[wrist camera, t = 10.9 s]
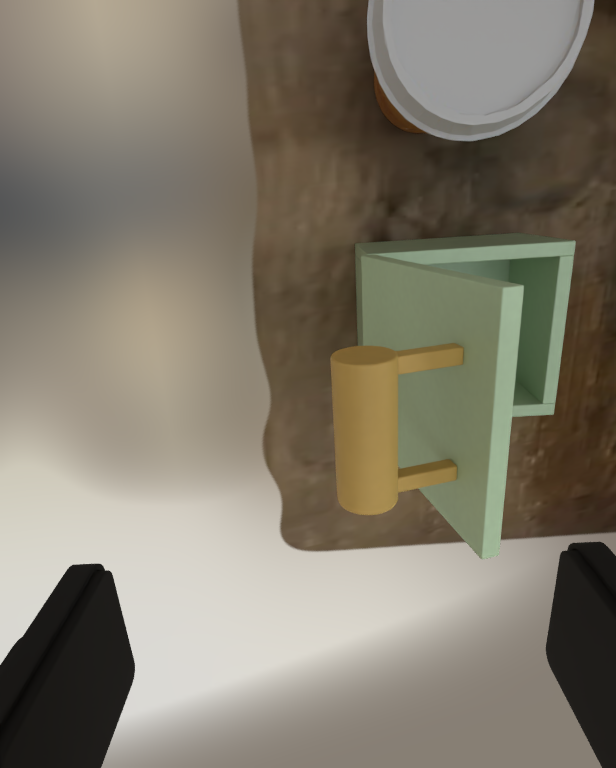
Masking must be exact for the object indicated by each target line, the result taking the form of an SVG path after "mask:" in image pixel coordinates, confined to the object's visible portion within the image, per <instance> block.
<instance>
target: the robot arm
mask: <svg viewBox="0 0 616 768" xmlns="http://www.w3.org/2000/svg"><path fill="white" fill-rule="evenodd" d="M546 654H547V659H548V662H549V665H550V667H551V670H552V672H553V673H554V675H555V677H556V679H557V681H558V683H559V685H560V687H561V689H562V691H563V693H564V695H565V697H566V698H567V700H568V702H569V704H570V706H571V708H572V710H573V712H574V714H575V716H576V718H577V720H578V722H579V724H580V726H581V728H582V729H583V731H584V733H585V735H586V737H587V739H588V741H589V743H590V745H591V747H592V749H593V751H594V753H595V755H596V757H597V759H598V760H599V762H600V764H601V766H602V768H616V556H615V555H614V554H613V552H612V551H611V550H610V549H609V548H608V547H607V546H606V545H605V544H604V543H602V542H585V543H572V544H570V545H569V547H568V550H567V551H562V553H561V555H560V559H559V566H558V572H557V579H556V586H555V592H554V599H553V604H552V612H551V618H550V624H549V631H548V637H547V643H546ZM134 673H135V663H134V658H133V655H132V651H131V647H130V643H129V639H128V635H127V631H126V627H125V623H124V619H123V615H122V611H121V607H120V603H119V599H118V595H117V591H116V587H115V583H114V579H113V575H112V573H111V572H110V571H105V569H104V567H103V566H102V565H101V564H80V565H72V566H70V567H69V569H68V570H67V571H66V572H65V574H64V575H63V577H62V578H61V580H60V581H59V583H58V585H57V586H56V587H55V589H54V590H53V592H52V594H51V595H50V597H49V598H48V600H47V601H46V603H45V604H44V605H43V607H42V609H41V610H40V612H39V613H38V615H37V616H36V618H35V619H34V621H33V622H32V624H31V625H30V626H29V628H28V629H27V631H26V633H25V634H24V635H23V637H22V638H20V639H19V640H18V641H17V642H16V644H15V645H14V646H13V647H12V649H11V650H10V652H9V653H8V655H7V656H6V658H5V659H4V661H3V662H2V664H1V665H0V768H101V766H102V764H103V761H104V758H105V755H106V753H107V750H108V747H109V745H110V742H111V739H112V737H113V734H114V731H115V729H116V726H117V723H118V720H119V718H120V715H121V712H122V710H123V707H124V704H125V701H126V699H127V696H128V694H129V691H130V688H131V686H132V682H133V679H134Z"/></svg>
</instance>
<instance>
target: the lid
mask: <svg viewBox="0 0 616 768" xmlns="http://www.w3.org/2000/svg"><path fill="white" fill-rule="evenodd" d="M361 269H362V311H363V346H353V347H348V348H344V349H340V350H338V351H336V352H334V353H333V354H332V355H331V358H330V359H331V380H332V400H333V420H334V440H335V461H336V481H337V498H338V501H339V503H340V505H341V506H342V507H343V508H344V509H346V510H348V511H350V512H352V513H355V514H360V515H376V514H381V513H384V512H387V511H389V510H390V509H392V508H393V507H394V506H395V504H396V502H397V500H398V492H403V491H408V490H413V489H417V488H418V489H419V490H420V491H421V492H422V493H423V494H424V496H425V497H426V498H427V499H428V500H429V501H430V502H431V503H432V504H433V506H434V507H435V508H436V509H437V510H438V511H439V512H440V513H441V515H442V516H443V517H444V518H445V519H446V520H447V521H448V522H449V524H450V525H451V526H452V527H453V528H454V529H455V530H456V531H457V533H458V534H459V535H460V536H461V537H462V538H463V539H464V540H465V542H466V543H467V544H468V545H469V546H470V547H471V548H472V549H473V550H474V551H475V553H476V554H477V555H478V556H479V557H480V558H481V559H486V558H490V557H494V556H498V555H499V549H500V539H501V528H502V517H503V506H504V496H505V485H506V474H507V464H508V453H509V442H510V431H511V421H512V410H513V399H514V389H515V378H516V367H517V356H518V346H519V335H520V324H521V313H522V303H523V292H524V286H523V285H520V284H515V283H510V282H505V281H501V280H496V279H491V278H486V277H481V276H476V275H471V274H467V273H462V272H457V271H452V270H447V269H442V268H437V267H432V266H428V265H423V264H418V263H413V262H408V261H403V260H398V259H394V258H389V257H384V256H379V255H374V254H373V255H363V256H361ZM398 466H399V467H400V469H398Z"/></svg>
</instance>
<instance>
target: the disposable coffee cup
mask: <svg viewBox="0 0 616 768" xmlns="http://www.w3.org/2000/svg"><path fill="white" fill-rule="evenodd" d="M593 8H594V0H369V4H368V13H367V37H368V44H369V50H370V57H371V62H372V64H373V67H374V90H375V95H376V99H377V102H378V104H379V106H380V109H381V111H382V112H383V114H384V115H385V117H386V118H387V119H388V120H389V121H390V122H391V123H392V124H393V125H395V126H396V127H398V128H399V129H402V130H404V131H407V132H411V133H417V134H419V133H428V134H431V135H434V136H437V137H440V138H443V139H447V140H457V141H476V140H480V139H485V138H489V137H494V136H498V135H501V134H503V133H505V132H507V131H509V130H511V129H513V128H515V127H517V126H519V125H521V124H522V123H523V122H525V121H526V120H528V119H529V118H530V117H532V116H533V115H535V114H536V113H537V112H538V111H539V110H540V109H541V108H542V107H543V106H544V105H545V104H546V103H547V102H548V101H549V100H550V99H551V98H552V97H553V96H554V95H555V94H556V92H557V91H558V89H559V88H560V86H561V85H562V83H563V82H564V80H565V79H566V77H567V76H568V74H569V73H570V71H571V70H572V67H573V65H574V63H575V61H576V58H577V56H578V54H579V51H580V49H581V47H582V44H583V42H584V39H585V37H586V34H587V31H588V28H589V24H590V21H591V17H592V14H593Z"/></svg>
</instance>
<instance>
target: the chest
mask: <svg viewBox="0 0 616 768" xmlns="http://www.w3.org/2000/svg"><path fill="white" fill-rule="evenodd" d="M575 243H576V241H574V240H567V239H560V238H553V237H546V236H538V235H531V234H524V233H507V234H492V235H477V236H461V237H446V238H431V239H415V240H400V241H385V242H370V243H355V267H356V303H357V338H358V346H363V311H362V269H361V256H363V255H373V254H374V255H379V256H384V257H389V258H394V259H398V260H403V261H408V262H413V263H418V264H423V265H428V266H432V267H437V268H442V269H447V270H452V271H457V272H462V273H467V274H471V275H476V276H481V277H486V278H491V279H496V280H501V281H505V282H510V283H515V284H520V285H523V286H524V292H523V303H522V313H521V324H520V335H519V346H518V356H517V367H516V378H515V389H514V399H513V410H512V417H517V416H535V415H553V414H554V408H555V401H556V393H557V385H558V377H559V369H560V361H561V354H562V346H563V338H564V330H565V322H566V314H567V306H568V298H569V290H570V282H571V275H572V267H573V259H574V256H573V255H574V251H575Z"/></svg>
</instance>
